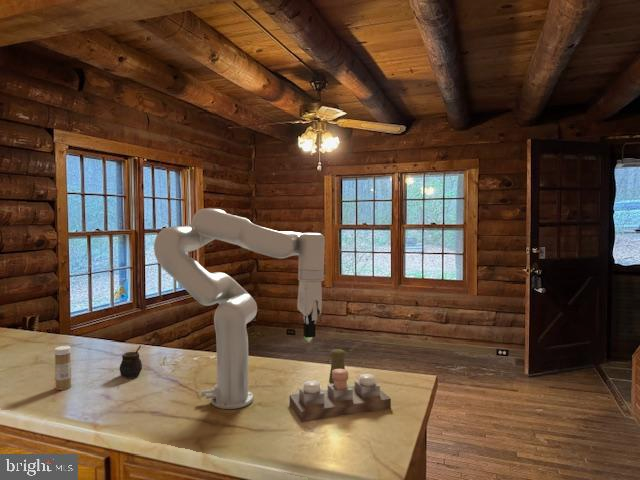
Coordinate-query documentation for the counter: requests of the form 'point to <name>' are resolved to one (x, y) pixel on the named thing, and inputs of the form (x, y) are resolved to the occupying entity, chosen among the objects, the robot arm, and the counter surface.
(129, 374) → the mate gourd
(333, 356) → the cork
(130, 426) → the counter surface
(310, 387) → the button near
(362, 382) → the button far
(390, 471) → the counter surface
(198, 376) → the counter surface
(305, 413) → the button board
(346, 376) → the button middle
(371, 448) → the counter surface
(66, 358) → the sprinkles bottle
